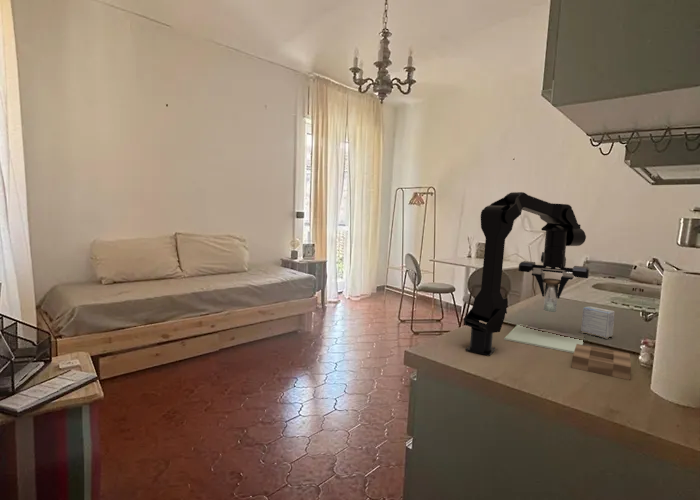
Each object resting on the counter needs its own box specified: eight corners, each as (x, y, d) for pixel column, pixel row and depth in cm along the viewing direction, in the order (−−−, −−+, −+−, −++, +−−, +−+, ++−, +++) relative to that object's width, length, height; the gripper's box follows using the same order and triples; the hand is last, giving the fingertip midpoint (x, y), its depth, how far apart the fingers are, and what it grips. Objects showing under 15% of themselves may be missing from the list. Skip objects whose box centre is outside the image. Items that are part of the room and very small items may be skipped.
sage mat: (580, 354, 112) (580, 352, 112) (504, 339, 123) (504, 338, 123) (584, 337, 129) (584, 335, 129) (517, 325, 140) (517, 324, 140)
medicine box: (612, 337, 129) (615, 311, 129) (606, 340, 127) (609, 312, 126) (586, 331, 136) (589, 305, 135) (580, 333, 133) (582, 307, 132)
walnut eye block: (629, 379, 95) (631, 367, 95) (571, 367, 102) (572, 356, 101) (628, 364, 105) (629, 353, 105) (575, 354, 112) (576, 343, 112)
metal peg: (559, 310, 125) (561, 279, 124) (557, 313, 121) (559, 281, 120) (542, 307, 127) (545, 277, 127) (540, 310, 124) (542, 279, 123)
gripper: (592, 247, 124) (587, 297, 125) (527, 242, 134) (523, 289, 136) (590, 249, 115) (585, 303, 116) (520, 244, 125) (516, 294, 126)
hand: (550, 297), depth 124 cm, fingers closed on metal peg, 4 cm apart
